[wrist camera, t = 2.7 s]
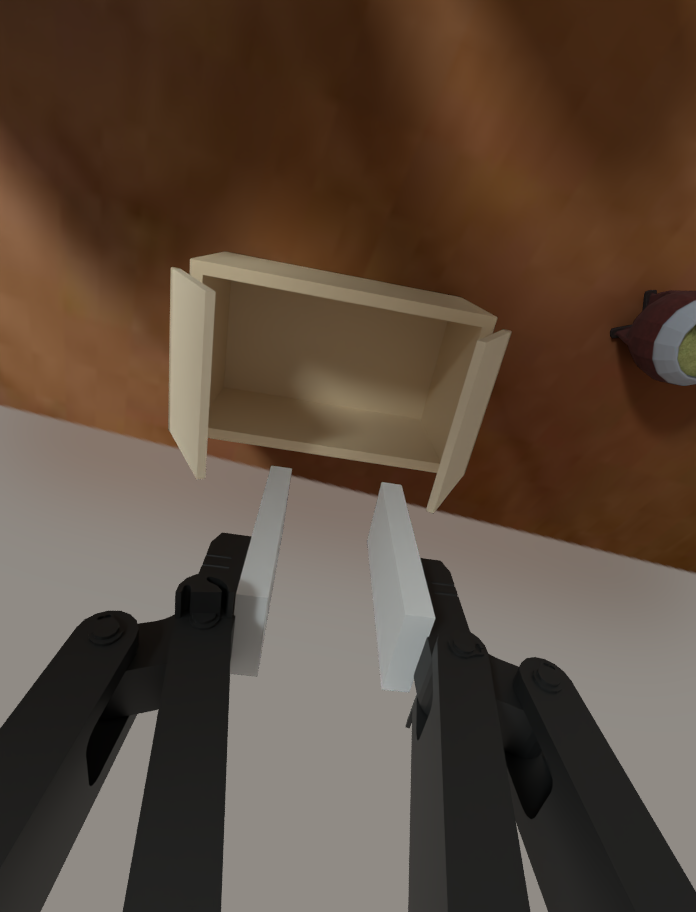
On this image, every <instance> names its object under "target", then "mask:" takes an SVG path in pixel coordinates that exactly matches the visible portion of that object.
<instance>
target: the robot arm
mask: <svg viewBox="0 0 696 912" xmlns="http://www.w3.org/2000/svg"><path fill="white" fill-rule="evenodd" d="M291 472H292V469H291V468H285V467H278V466H271V468H270V472H269V475H268V479H267V483H266V487H265V490H264V494H263V497H262V501H261V505H260V508H259V512H258V516H257V519H256V523H255V526H254V531H253V534H252V537H251V536H243V535H236V534H228V533H221V534H220V535H219V536H218V537H217V538H216V539H214V540H213V541H212V542H211V544H210V546H209V549H208V552H207V555H206V557H205V559H204V562H203V565H202V567H201V569H200V572H199V574H196V575H193V576H191V577H189V578H186V579H185V580H184V581H183V582H182V583H180V584H179V586H178V588H177V590H176V596H175V615H173V616H171V617H169V618H166V619H163V620H159V621H154V622H147V623H140V624H137V620H136V619H134V618H133V617H132V616H131V615H130V614H127V613H125V612H122V611H105V612H101V613H97V614H95V615H93V616H91V617H89V618H87V619H85V620H84V621H83V622H82V623H81V624H80V625H79V626H78V627H76V629H75V630H74V631H73V633H72V634H71V635H70V637H69V638H68V639H67V641H66V642H65V643H64V645H63V646H62V647H61V649H60V650H59V651H58V653H57V654H56V655H55V657H54V658H53V659H52V661H51V662H50V663H49V665H48V666H47V668H46V669H45V670H44V671H43V673H42V674H41V675H40V676H39V678H38V679H37V681H36V682H35V683H34V684H33V686H32V687H31V688H30V690H29V691H28V692H27V694H26V695H25V696H24V698H23V699H22V701H21V702H20V703H19V704H18V706H17V707H16V708H15V710H14V711H13V712H12V714H11V715H10V716H9V718H8V719H7V720H6V722H5V723H4V724H3V726H2V727H1V728H0V912H40V911H41V909H42V907H43V905H44V903H45V901H46V899H47V897H48V895H49V893H50V891H51V889H52V887H53V885H54V883H55V881H56V879H57V877H58V875H59V873H60V871H61V868H62V867H63V864H64V862H65V860H66V858H67V856H68V854H69V852H70V850H71V848H72V846H73V844H74V842H75V840H76V838H77V836H78V834H79V832H80V830H81V828H82V826H83V824H84V822H85V820H86V818H87V815H88V813H89V812H90V809H91V807H92V805H93V803H94V801H95V799H96V797H97V795H98V793H99V791H100V789H101V787H102V785H103V783H104V781H105V779H106V777H107V775H108V773H109V771H110V768H111V767H112V765H113V762H114V761H115V759H116V756H117V754H118V752H119V750H120V748H121V746H122V744H123V742H124V740H125V738H126V736H127V734H128V732H129V729H130V728H131V726H132V724H133V722H134V720H135V718H136V716H137V714H138V713H144V712H148V711H153V710H157V709H159V711H158V716H157V722H156V728H155V734H154V739H153V745H152V750H151V756H150V761H149V767H148V772H147V779H146V784H145V789H144V795H143V801H142V806H141V812H140V817H139V823H138V829H137V834H136V840H135V846H134V851H133V857H132V863H131V868H130V874H129V880H128V885H127V890H126V897H125V902H124V907H123V912H221V893H222V867H223V842H224V840H223V839H224V816H225V790H226V762H227V737H228V710H229V683H230V674H237V675H247V676H256V677H257V675H258V669H259V664H260V658H261V652H262V647H263V641H264V635H265V630H266V624H267V618H268V613H269V607H270V601H271V595H272V590H273V584H274V579H275V572H276V567H277V561H278V555H279V550H280V545H281V539H282V533H283V527H284V520H285V513H286V507H287V500H288V492H289V486H290V479H291ZM367 546H368V556H369V566H370V576H371V585H372V596H373V606H374V617H375V626H376V637H377V646H378V657H379V667H380V676H381V687H382V690H392V691H401V692H409V691H410V688H411V686H412V683H413V680H414V681H415V686H416V692H417V695H416V698H415V700H414V703H413V706H412V709H411V712H410V714H409V717H408V719H407V724H406V727H407V728H410V726H411V723H412V754H411V758H412V759H411V804H410V855H409V905H408V910H409V911H408V912H530V907H529V901H528V894H527V888H526V882H525V876H524V870H523V864H522V858H521V852H520V845H519V839H518V833H517V827H516V823H517V826H518V829H519V832H520V834H521V837H522V840H523V842H524V845H525V848H526V851H527V854H528V857H529V859H530V862H531V865H532V868H533V871H534V873H535V876H536V879H537V882H538V885H539V887H540V890H541V893H542V895H543V898H544V901H545V904H546V907H547V910H548V912H696V892H695V890H694V888H693V886H692V885H691V883H690V881H689V879H688V878H687V876H686V874H685V873H684V871H683V869H682V868H681V866H680V864H679V863H678V861H677V859H676V858H675V856H674V854H673V852H672V851H671V849H670V847H669V846H668V844H667V843H666V841H665V839H664V837H663V836H662V834H661V832H660V830H659V829H658V827H657V825H656V824H655V822H654V820H653V818H652V817H651V815H650V813H649V812H648V810H647V808H646V807H645V805H644V803H643V802H642V800H641V799H640V796H639V795H638V793H637V791H636V790H635V788H634V786H633V785H632V783H631V781H630V780H629V778H628V776H627V775H626V773H625V771H624V769H623V768H622V766H621V764H620V763H619V761H618V759H617V758H616V756H615V754H614V752H613V751H612V749H611V748H610V746H609V744H608V742H607V741H606V739H605V737H604V735H603V734H602V732H601V731H600V729H599V727H598V725H597V724H596V722H595V720H594V719H593V717H592V715H591V713H590V712H589V710H588V708H587V707H586V705H585V703H584V702H583V700H582V698H581V697H580V695H579V693H578V691H577V690H576V688H575V686H574V685H573V683H572V681H571V680H570V679H569V677H568V676H567V675H566V674H565V673H564V671H562V670H561V669H560V668H559V667H557V666H556V665H555V664H553V663H551V662H549V661H547V660H545V659H541V658H536V657H534V658H527V659H525V660H524V661H523V662H522V663H521V665H520V667H518V666H515V665H513V664H510V663H508V662H505V661H502V660H500V659H497V658H495V657H493V656H491V655H490V654H488V652H487V650H486V647H485V645H484V644H483V643H482V642H481V640H480V639H479V638H478V637H476V636H475V635H474V634H472V633H471V632H470V630H469V628H468V624H467V621H466V618H465V615H464V613H463V609H462V606H461V603H460V600H459V597H457V591H456V588H455V587H454V582H453V579H452V576H451V573H450V571H449V570H448V569H447V568H446V567H445V566H444V564H443V563H442V562H441V561H438V560H431V559H423V558H420V556H419V552H418V548H417V544H416V540H415V536H414V532H413V529H412V524H411V520H410V517H409V512H408V509H407V505H406V501H405V497H404V493H403V489H402V485H398V484H392V483H385V482H381V487H380V491H379V495H378V499H377V503H376V507H375V511H374V516H373V519H372V523H371V528H370V531H369V535H368V540H367Z"/></svg>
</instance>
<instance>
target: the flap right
mask: <svg viewBox="0 0 696 912" xmlns="http://www.w3.org/2000/svg"><path fill="white" fill-rule="evenodd" d="M511 333H512V331H510V330H505V329H503V330H501V331H499V332H496V333H494V334H491V335H489V336H486V337H484V338H482V339H479V340H477V343H476V346H475V350H474V353H473V356H472V360H471V363H470V366H469V370H468V373H467V376H466V380H465V383H464V386H463V389H462V393H461V396H460V399H459V403H458V406H457V409H456V413H455V416H454V419H453V423H452V426H451V429H450V432H449V436H448V439H447V442H446V446H445V449H444V452H443V456H442V459H441V462H440V466H439V469H438V472H437V475H436V479H435V482H434V485H433V489H432V492H431V495H430V499H429V502H428V505H427V509H426V511H428V512H430V513H432V514H434V512H435V511H436V510H437V508H438V507H439V506H440V505H441V503H442V502H443V501H444V499H445V498H446V497H447V496H448V494H449V493H450V492H451V491H452V489H453V488H454V487H455V485H456V484H457V483H458V482H459V480H460V479H461V478H462V476H464V474H465V471H466V468H467V465H468V462H469V459H470V456H471V453H472V450H473V447H474V444H475V441H476V438H477V435H478V432H479V429H480V426H481V423H482V420H483V417H484V414H485V411H486V408H487V405H488V402H489V399H490V396H491V393H492V390H493V387H494V384H495V381H496V378H497V375H498V372H499V369H500V366H501V363H502V360H503V357H504V354H505V351H506V348H507V345H508V342H509V339H510V336H511Z"/></svg>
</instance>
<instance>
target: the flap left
mask: <svg viewBox="0 0 696 912" xmlns="http://www.w3.org/2000/svg"><path fill="white" fill-rule="evenodd" d="M215 293H216V292H215V291H214V290H212V289H211V288H209V287H208V286H206V285H204V284H203V283H201V282H200V281H198V280H197V279H195V278H194V277H192V276H191V275H189V274H188V273H186V272H185V271H183V270H182V269H181V268H176V267H171V282H170V349H169V417H168V430H169V431H170V432H171V434H172V436H173V438H174V440H175V441H176V443H177V445H178V447H179V449H180V450H181V452H182V454H183V456H184V458H185V459H186V461H187V463H188V465H189V467H190V468H191V470H192V472H193V474H194V476H195V477H196V479H197V480H199V479H205V474H206V456H207V438H208V420H209V402H210V384H211V366H212V348H213V330H214V311H215Z"/></svg>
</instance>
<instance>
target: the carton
mask: <svg viewBox="0 0 696 912" xmlns="http://www.w3.org/2000/svg"><path fill="white" fill-rule="evenodd" d="M190 275H191V276H192V277H194V278H195V279H197V280H198V281H200V282H201V283H203V284H204V285H206V286H208V287H209V288H211V289H212V290H214V291H215V292H216V293H215V311H214V330H213V348H212V366H211V384H210V402H209V420H208V438H212V439H219V440H225V441H232V442H238V443H245V444H251V445H258V446H264V447H271V448H278V449H284V450H291V451H297V452H304V453H310V454H317V455H323V456H330V457H336V458H343V459H349V460H356V461H362V462H369V463H375V464H382V465H388V466H395V467H401V468H408V469H414V470H421V471H427V472H434V473H437V472H438V469H439V466H440V462H441V459H442V456H443V452H444V449H445V446H446V442H447V439H448V436H449V432H450V429H451V426H452V423H453V419H454V416H455V413H456V409H457V406H458V403H459V399H460V396H461V393H462V389H463V386H464V383H465V380H466V376H467V373H468V370H469V366H470V363H471V360H472V356H473V353H474V350H475V346H476V343H477V340H479V339H482V338H484V337H486V336H489V335H491V334H493V330H494V327H495V324H496V321H497V318H498V317H496V316H494V315H492V314H491V313H489V312H487V311H485V310H483V309H481V308H480V307H478V306H476V305H474V304H472V303H471V302H469V301H467V300H465V299H463V298H461V297H457V296H452V295H447V294H442V293H436V292H431V291H426V290H421V289H416V288H411V287H405V286H400V285H395V284H390V283H385V282H380V281H375V280H369V279H364V278H359V277H354V276H349V275H344V274H338V273H333V272H328V271H323V270H318V269H313V268H307V267H302V266H297V265H292V264H287V263H282V262H277V261H271V260H266V259H261V258H256V257H251V256H246V255H240V254H235V253H230V252H220V253H215V254H210V255H206V256H201V257H196V258H191V259H190Z"/></svg>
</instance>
